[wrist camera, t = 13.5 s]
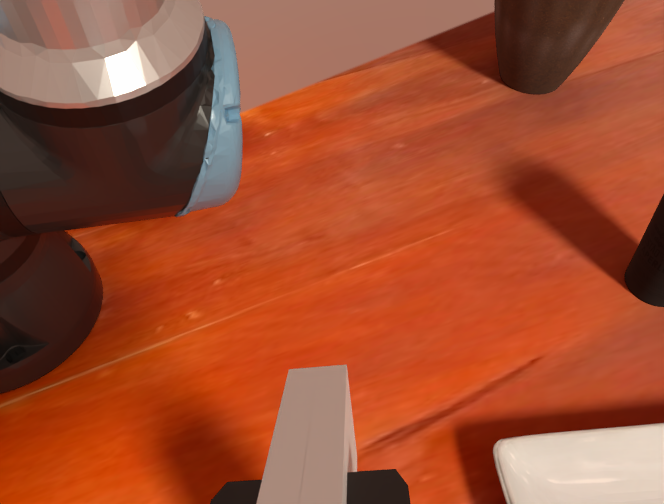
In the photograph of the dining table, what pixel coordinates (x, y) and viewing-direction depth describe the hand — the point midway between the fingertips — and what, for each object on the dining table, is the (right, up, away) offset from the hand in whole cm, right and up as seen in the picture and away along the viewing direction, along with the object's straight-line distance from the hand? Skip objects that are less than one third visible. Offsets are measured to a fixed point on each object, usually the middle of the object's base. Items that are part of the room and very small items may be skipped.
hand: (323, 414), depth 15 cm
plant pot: (+25, +26, +55) cm, 65 cm away
